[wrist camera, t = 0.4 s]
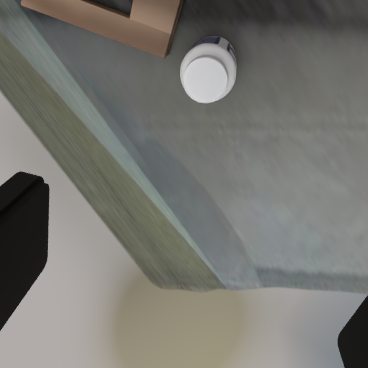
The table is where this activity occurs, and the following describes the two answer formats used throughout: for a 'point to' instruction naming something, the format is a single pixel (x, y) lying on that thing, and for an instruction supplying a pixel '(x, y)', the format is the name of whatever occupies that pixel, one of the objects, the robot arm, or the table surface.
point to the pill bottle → (209, 69)
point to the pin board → (120, 20)
